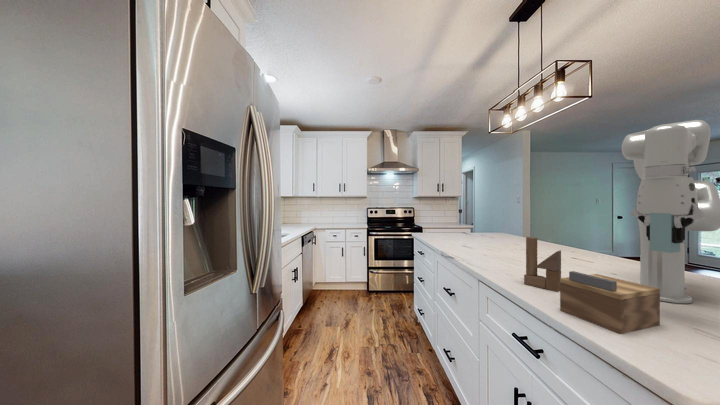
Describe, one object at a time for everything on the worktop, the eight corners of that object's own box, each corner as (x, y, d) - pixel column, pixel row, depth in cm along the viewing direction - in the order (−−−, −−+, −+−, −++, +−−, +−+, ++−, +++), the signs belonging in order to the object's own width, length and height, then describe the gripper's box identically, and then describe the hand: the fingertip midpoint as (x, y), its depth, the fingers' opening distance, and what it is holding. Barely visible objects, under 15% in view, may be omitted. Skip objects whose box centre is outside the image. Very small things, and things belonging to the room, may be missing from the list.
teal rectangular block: (659, 249, 73) (659, 206, 73) (680, 251, 69) (680, 206, 69) (649, 250, 72) (650, 206, 71) (670, 252, 68) (670, 206, 68)
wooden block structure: (557, 292, 91) (557, 240, 90) (523, 284, 99) (523, 236, 99) (561, 290, 93) (561, 239, 93) (528, 282, 101) (528, 236, 101)
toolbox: (596, 304, 80) (596, 278, 80) (659, 325, 66) (659, 293, 66) (560, 310, 76) (560, 282, 75) (620, 333, 62) (620, 300, 62)
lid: (596, 277, 80) (596, 266, 80) (659, 293, 66) (659, 279, 66) (560, 282, 75) (560, 270, 75) (620, 300, 62) (620, 284, 62)
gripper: (723, 170, 63) (722, 245, 63) (633, 176, 79) (633, 236, 79) (705, 169, 61) (705, 247, 61) (617, 175, 77) (617, 238, 77)
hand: (664, 240), depth 70 cm, fingers closed on teal rectangular block, 4 cm apart
